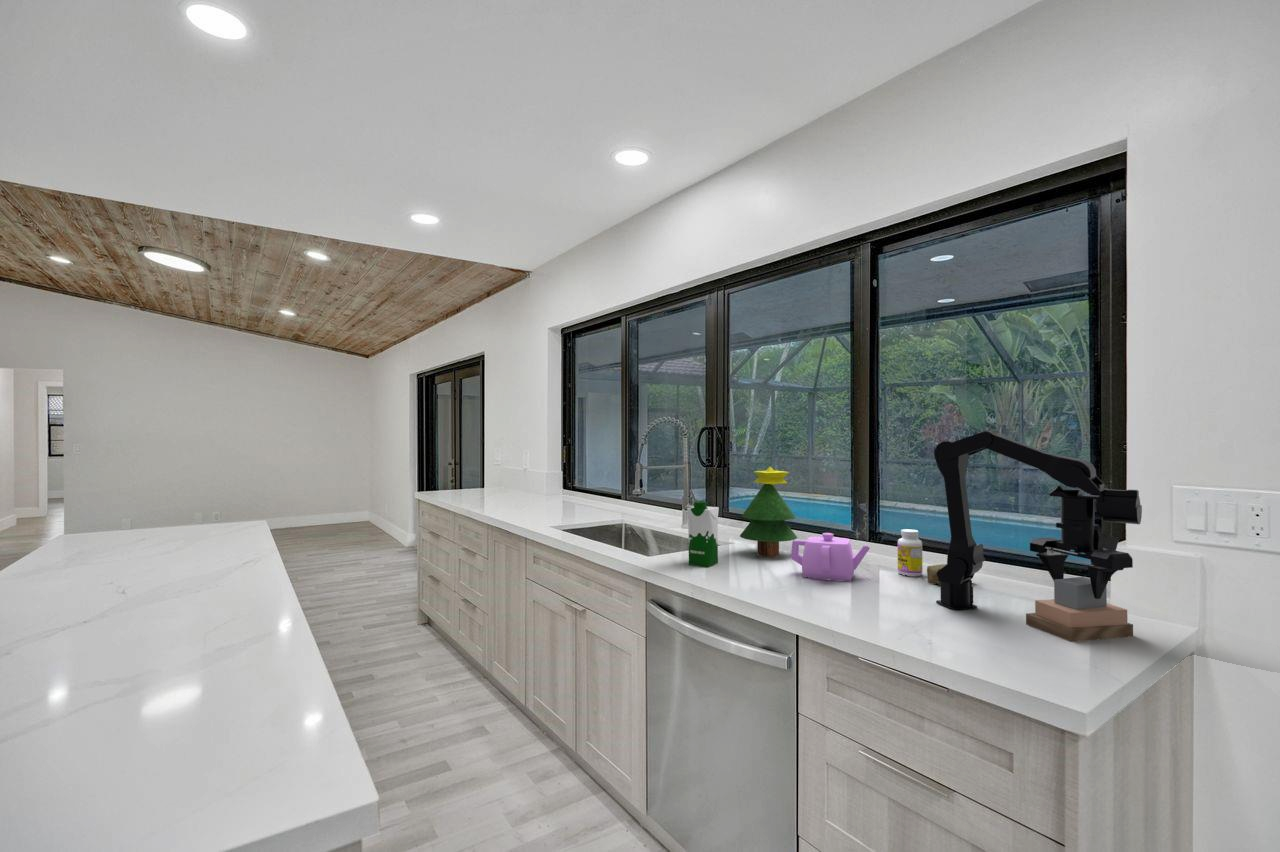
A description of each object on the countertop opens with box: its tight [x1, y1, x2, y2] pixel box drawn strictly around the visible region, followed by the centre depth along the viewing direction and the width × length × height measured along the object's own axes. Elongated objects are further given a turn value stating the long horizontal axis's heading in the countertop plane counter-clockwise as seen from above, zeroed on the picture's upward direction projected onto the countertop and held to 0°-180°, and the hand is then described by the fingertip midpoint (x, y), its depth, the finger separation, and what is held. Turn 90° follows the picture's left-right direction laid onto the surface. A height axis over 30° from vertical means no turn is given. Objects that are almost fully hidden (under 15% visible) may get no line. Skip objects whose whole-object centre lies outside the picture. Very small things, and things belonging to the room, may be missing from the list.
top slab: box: [1034, 598, 1128, 628], centre depth 126 cm, size 13×9×3 cm
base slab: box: [1025, 612, 1134, 643], centre depth 126 cm, size 15×11×3 cm
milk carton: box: [686, 500, 720, 568], centre depth 191 cm, size 9×9×20 cm
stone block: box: [926, 563, 972, 586], centre depth 165 cm, size 6×12×5 cm, turn 109°
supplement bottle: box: [897, 528, 923, 577], centre depth 175 cm, size 7×7×13 cm
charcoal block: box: [1053, 576, 1108, 610], centre depth 126 cm, size 8×5×5 cm, turn 106°
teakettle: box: [790, 532, 871, 582], centre depth 175 cm, size 17×17×12 cm
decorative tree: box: [739, 466, 798, 558], centre depth 204 cm, size 19×19×30 cm
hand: (1078, 593), depth 126 cm, fingers open, 8 cm apart
